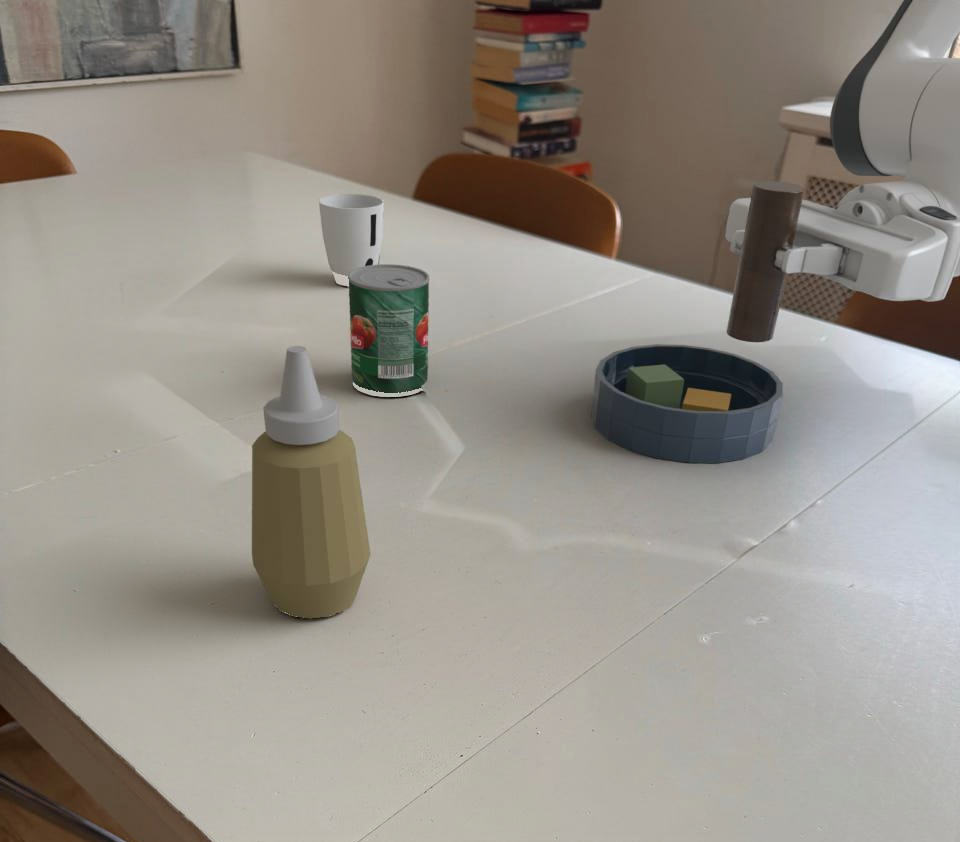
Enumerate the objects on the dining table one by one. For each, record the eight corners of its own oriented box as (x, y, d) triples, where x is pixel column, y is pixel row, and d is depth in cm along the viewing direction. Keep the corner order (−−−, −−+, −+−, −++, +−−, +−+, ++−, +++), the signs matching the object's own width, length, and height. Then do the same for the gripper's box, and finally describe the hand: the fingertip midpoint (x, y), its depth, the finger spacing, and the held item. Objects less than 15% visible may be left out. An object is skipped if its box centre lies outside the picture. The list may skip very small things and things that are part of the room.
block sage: (659, 403, 100) (665, 364, 98) (678, 418, 97) (684, 379, 95) (623, 406, 99) (628, 367, 97) (640, 422, 96) (646, 382, 93)
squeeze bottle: (395, 598, 71) (392, 350, 61) (307, 646, 66) (287, 385, 56) (320, 556, 75) (305, 318, 65) (232, 598, 70) (200, 347, 60)
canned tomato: (336, 380, 104) (331, 271, 97) (398, 364, 108) (397, 259, 101) (381, 405, 99) (379, 292, 92) (443, 387, 103) (446, 279, 97)
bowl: (742, 397, 104) (752, 345, 101) (794, 472, 90) (808, 414, 87) (579, 395, 103) (584, 342, 100) (606, 470, 89) (614, 412, 86)
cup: (376, 293, 127) (375, 210, 122) (315, 288, 128) (310, 205, 122) (391, 276, 134) (390, 196, 128) (332, 270, 135) (329, 191, 129)
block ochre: (723, 434, 94) (731, 393, 92) (719, 451, 91) (727, 409, 89) (681, 427, 95) (688, 387, 93) (676, 444, 92) (682, 403, 90)
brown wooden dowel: (765, 327, 89) (795, 181, 82) (779, 342, 85) (811, 192, 78) (721, 326, 88) (747, 180, 81) (733, 342, 85) (762, 191, 78)
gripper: (801, 174, 94) (685, 184, 88) (984, 226, 79) (860, 242, 74) (787, 244, 97) (674, 258, 92) (959, 306, 83) (838, 327, 77)
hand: (758, 252), depth 82 cm, fingers closed on brown wooden dowel, 4 cm apart
